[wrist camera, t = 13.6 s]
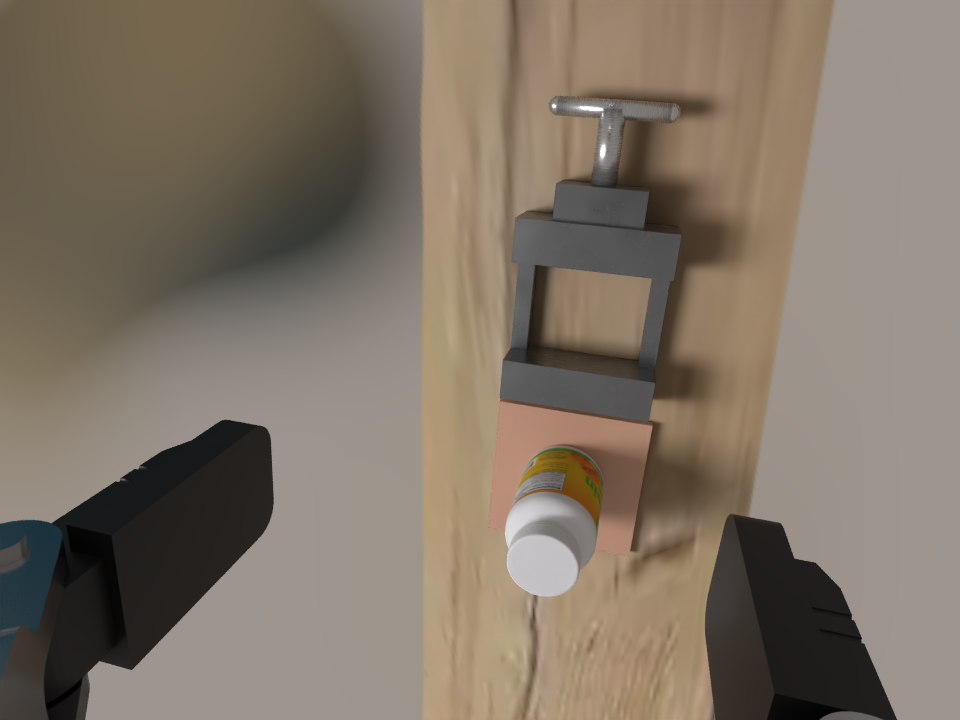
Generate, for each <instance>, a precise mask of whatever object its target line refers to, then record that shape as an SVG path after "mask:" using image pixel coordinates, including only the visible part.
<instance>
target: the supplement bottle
mask: <svg viewBox="0 0 960 720" xmlns="http://www.w3.org/2000/svg"><path fill="white" fill-rule="evenodd" d="M603 486H604V484H603V476H602V473H601V470H600V468H599V467H598V465H597V463H596V462H595V461H594V460H593V459H592V458H591V457H590V456H589V455H588V454H586V453H585V452H583V451H581V450H579V449H577V448H574V447H570V446H562V445H560V446H551V447H548V448H545V449H543V450H541V451H539V452H538V453H536V454H535V455H534V456H533V457H532V458H531V460H530V461H529V462H528V464H527V466H526V468H525V471H524V473H523V476H522V479H521V481H520V484H519V487H518V490H517V492H516V495H515V498H514V501H513V503H512V506H511V509H510V511H509V514H508V517H507V521H506V526H505V537H506V542H507V545H508V548H509V551H508V555H507V567H508V570H509V573H510V575H511V577H512V578H513V580H514V581H515V582H516V583H517V584H518V585H519V586H520V587H521V588H522V589H524V590H526V591H527V592H529V593H531V594H535V595H538V596H544V597H552V596H558V595H561V594H563V593H565V592H567V591H568V590H570V589H571V588H572V587H573V585H574V584H575V583H576V581H577V579H578V576H579V571H580V569H582V568H583V567H584V566H585V565H586V564H587V563H588V562H589V560H590V559H591V557H592V555H593V553H594V551H595V547H596V542H597V534H598V526H599V518H600V511H601V503H602V496H603Z"/></svg>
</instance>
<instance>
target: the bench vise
mask: <svg viewBox="0 0 960 720" xmlns="http://www.w3.org/2000/svg"><path fill="white" fill-rule="evenodd" d="M549 109H550V111H551V113H552V114H554V115H559V116H573V117H588V118H599V124H598V132H597V140H596V148H595V156H594V164H593V172H592V180H591V183H590V182H579V181H568V180H562V181H560V182H558V183H556V190H555V199H554V209H553V214H551V213H541V212H531V211H525V212H524V213H522V214H521V215H519V216H517V217H516V218H515V229H514V241H513V252H512V262H516V263H519V265H518V276H517V287H516V298H515V309H514V320H513V331H512V342H511V348H510V350H509V352H508V353H507V355H506V356H505V358H504V359H503V366H502V377H501V388H500V398H502V399H508V400H514V401H520V402H527V403H533V404H539V405H545V406H551V407H558V408H564V409H570V410H576V411H582V412H588V413H595V414H601V415H607V416H613V417H619V418H626V419H632V420H638V421H644V422H649V417H650V411H651V406H652V400H653V394H654V389H655V365H656V360H657V354H658V348H659V343H660V337H661V331H662V326H663V320H664V314H665V309H666V303H667V297H668V292H669V286H670V281H674V276H675V271H676V265H677V259H678V254H679V248H680V243H681V237H682V234H681V231H680V229H679V226H669V225H659V224H650V223H645V216H646V210H647V204H648V197H649V188H646V187H634V186H623V185H617V178H618V170H619V163H620V156H621V149H622V142H623V134H624V127H625V120H630V121H645V122H659V123H674V122H676V121H677V120H678V119H679V118H680V115H681V109H680V107H679V106H678V105H677V104H675V103H665V102H649V101H634V100H618V99H602V98H587V97H571V96H555V97H553V98H552V99H551V101H550V103H549ZM537 265H541V266H550V267H558V268H567V269H575V270H584V271H592V272H601V273H609V274H618V275H626V276H635V277H643V278H652V282H651V288H650V294H649V300H648V306H647V312H646V318H645V324H644V331H643V337H642V343H641V349H640V355H639V361H635V360H628V359H621V358H614V357H607V356H600V355H593V354H586V353H579V352H572V351H565V350H558V349H552V348H545V347H538V346H531V345H529V340H530V330H531V320H532V310H533V301H534V291H535V281H536V271H537Z"/></svg>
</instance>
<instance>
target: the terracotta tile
mask: <svg viewBox="0 0 960 720" xmlns="http://www.w3.org/2000/svg"><path fill="white" fill-rule="evenodd" d="M652 427H653V422H644V421H638V420H632V419H626V418H619V417H613V416H607V415H601V414H595V413H588V412H582V411H576V410H570V409H564V408H558V407H551V406H545V405H539V404H533V403H527V402H520V401H514V400H508V399H502V398H501V400H500V402H499V414H498V425H497V436H496V448H495V459H494V470H493V482H492V493H491V504H490V516H489V527H488V528H491V529H496V530H501V531H505V526H506V521H507V517H508V514H509V511H510V509H511V506H512V503H513V501H514V498H515V495H516V492H517V490H518V487H519V484H520V481H521V479H522V476H523V473H524V471H525V468H526V466H527V464H528V462H529V461H530V460H531V458H532V457H533V456H534V455H535V454H536V453H538V452H539V451H541V450H543V449H545V448H548V447H551V446H560V445H562V446H570V447H574V448H577V449H579V450H581V451H583V452H585V453H586V454H588V455H589V456H590V457H591V458H592V459H593V460H594V461H595V462H596V463H597V465H598V467H599V468H600V470H601V473H602V476H603V484H604V486H603V496H602V503H601V511H600V518H599V526H598V534H597V542H596V547H595V550H600V551H604V552H609V553H614V554H619V555H624V556H629V554H630V548H631V543H632V537H633V532H634V526H635V521H636V515H637V510H638V504H639V499H640V493H641V488H642V482H643V476H644V471H645V465H646V460H647V454H648V449H649V443H650V438H651V432H652Z"/></svg>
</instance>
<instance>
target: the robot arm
mask: <svg viewBox="0 0 960 720" xmlns="http://www.w3.org/2000/svg"><path fill="white" fill-rule="evenodd" d="M273 500H274V497H273V477H272V455H271V438H270V434H269V432H268V430H267V429H266V428H265V427H263V426H258V425H252V424H247V423H242V422H236V421H231V420H222V421H220V422H218V423H217V424H215V425H214V426H212V427H211V428H209V429H208V430H206V431H205V432H203V433H202V434H200V435H199V436H197V437H196V438H195V439H193V440H192V441H188V442H186V443H183V444H181V445H178V446H175V447H172V448H169V449H167V450H164V451H162V452H160V453H158V454H157V455H155V456H154V457H152V458H151V459H149V460H148V461H146V462H145V463H143V464H142V465H140V466H139V469H134V470H132V471H131V472H129V473H128V474H126V475H125V476H123V477H122V478H121V479H120V482H114V483H113V484H111V485H110V486H108V487H106V488H105V489H103V490H102V491H100V492H99V493H97V494H96V495H94V496H92V497H91V498H90V499H88V500H87V501H85V502H83V503H82V504H80V505H79V506H77V507H76V508H74V509H73V510H71V511H69V512H68V513H66V514H65V515H63V516H62V517H60V518H59V519H57V520H56V521H54V522H53V523H49V522H45V521H39V520H20V521H11V522H7V523H1V524H0V720H85V718H86V712H87V704H88V698H89V692H90V683H89V678H88V672H89V671H90V670H91V669H92V668H93V667H94V666H95V665H96V664H97V663H98V662H99V661H101V662H105V663H109V664H112V665H116V666H120V667H123V668H126V669H130V670H132V669H133V668H134V667H135V666H136V665H137V664H138V663H139V662H140V661H141V660H142V659H143V658H144V657H145V656H146V655H147V654H148V653H149V652H150V651H151V650H152V649H153V648H154V647H155V645H156V644H157V643H158V642H159V641H160V640H161V639H162V638H163V637H164V636H165V635H166V634H167V633H168V632H169V631H170V630H171V629H172V628H173V627H174V626H175V625H176V624H177V623H178V622H179V621H180V619H181V618H182V617H183V616H184V615H185V614H186V613H187V612H188V611H189V610H190V609H191V608H192V607H193V606H194V605H195V604H196V603H197V602H198V601H199V600H200V599H201V598H202V596H204V594H205V593H206V592H207V591H208V590H209V589H210V588H211V587H212V586H213V585H214V584H215V583H216V582H217V581H218V580H219V579H220V578H221V577H222V576H223V575H224V574H225V573H226V572H227V571H228V570H229V569H230V568H231V567H232V565H233V564H234V563H235V562H236V561H237V560H238V559H239V558H240V557H241V556H242V555H243V554H244V553H245V552H246V551H247V550H248V549H249V548H250V547H251V546H252V545H253V544H254V542H256V541H257V540H258V538H259V537H260V536H261V535H262V534H263V533H264V531H265V529H266V528H267V526H268V523H269V521H270V518H271V515H272V511H273V504H274V501H273ZM705 636H706V645H707V653H708V662H709V670H710V678H711V687H712V695H713V703H714V712H715V720H897V719H896V716H895V714H894V712H893V709H892V707H891V705H890V702H889V700H888V698H887V695H886V693H885V691H884V688H883V686H882V684H881V681H880V679H879V677H878V675H877V672H876V670H875V668H874V665H873V663H872V661H871V659H870V656H869V654H868V651H867V649H866V647H865V644H863V643H861V639H862V637H861V635H860V633H859V630H858V628H857V626H856V623H855V622H854V620H852V614H851V612H850V610H849V607H848V605H847V603H846V600H845V598H844V596H843V594H842V591H841V589H840V588H839V586H837V584H836V583H835V582H834V581H833V580H832V579H831V578H830V577H829V576H828V575H827V574H826V573H825V572H824V571H823V570H822V569H821V568H820V567H819V566H818V565H817V564H816V563H814V562H809V561H804V560H798V559H794V556H793V553H792V551H791V548H790V545H789V542H788V539H787V536H786V534H785V531H784V528H783V526H782V525H781V523H778V522H772V521H767V520H761V519H755V518H750V517H745V516H740V515H734V514H730V515H729V516H728V518H727V520H726V522H725V526H724V530H723V534H722V538H721V542H720V546H719V551H718V555H717V559H716V563H715V567H714V572H713V576H712V580H711V584H710V589H709V593H708V598H707V605H706V615H705Z"/></svg>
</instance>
